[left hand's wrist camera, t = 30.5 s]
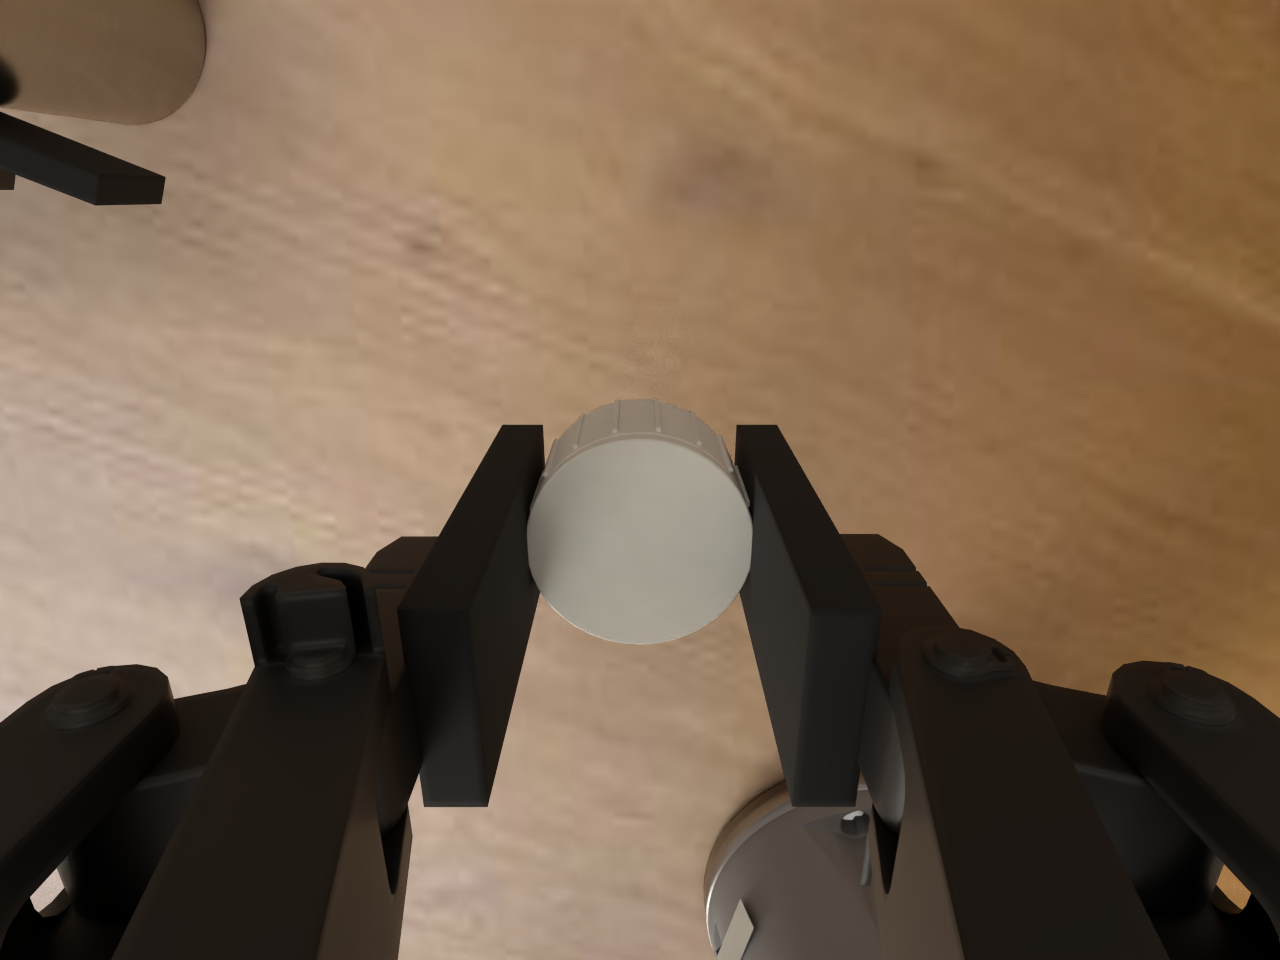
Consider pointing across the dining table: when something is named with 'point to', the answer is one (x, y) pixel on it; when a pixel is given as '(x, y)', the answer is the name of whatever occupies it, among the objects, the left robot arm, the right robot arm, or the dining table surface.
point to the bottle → (100, 57)
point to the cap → (639, 524)
